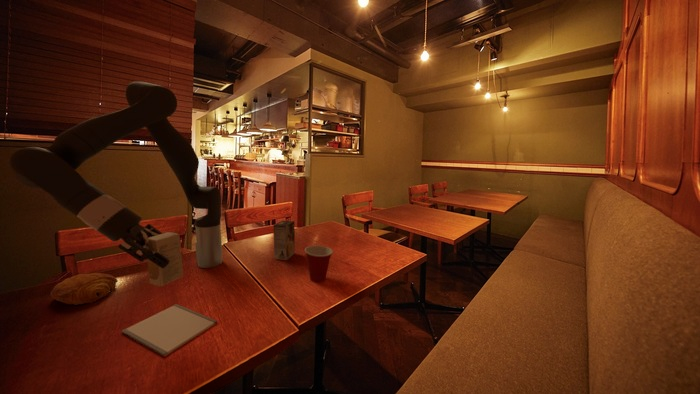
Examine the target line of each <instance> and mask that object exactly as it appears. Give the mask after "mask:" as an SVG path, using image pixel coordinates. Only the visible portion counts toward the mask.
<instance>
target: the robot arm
mask: <svg viewBox="0 0 700 394" xmlns="http://www.w3.org/2000/svg"><path fill="white" fill-rule="evenodd" d="M125 99H126V102H127V103H128V107H126V108H123V109H120V110H117V111H113V112H109V113H106V114H103V115H99V116H95V117H91V118H90V119H87V120H84V121H82V122H80V123H77V124H76V125H74V126H72V127H71V128H69V129H66V130H65V131H62V132H61V133H60V134H58V135H57V136H56V137H55V138H54V140H53V143H52V144H50V146H49V147H46V148H42V147H37V146H29V147H28V146H27V147H26V146H25V147H22V148H19V149H17V150H15V151H14V152H13V153H12V154H11V155H10V157H9V166H10V169H11V171H12V173H13V175H14V177H15V179H16V180H17V181H18V182H19V183H20V184H21V185H24V186H26V187H29V188H31V189H32V188H34V189H41V190H42V191H44V192H45V193H47V194H49V195H50V196H51V197H52V199H54V201H55V202H56V203H57V204H59V206H61V207H62V208H64V209H65V210H67V211H68V212H69V213H71V214H73V215H75V216H76V217H77V218H79V219H80V220H81V221H82V222H83V223H84V224H86V225H87V226H88V227H90V228H92V229H93V230H95V231H96V232H98V233H99V234H101V235H103V236H104V237H106V238H107V239H109V240H110V241H112V242H114V243H116V242H119V240H122V242H121V243H120V244H118V245H117V247H118V248H119V249H120V250H121V251H123V252H125V253H127V254H128V255H129V256H131V257H133V258H134V259H136V260H137V261H139V262H141V263H142V262H144V261H147V260H150V261H152V262H153V263H155V264H156V265H158V266H159V267H161V268H164V267H166V266H167V265H168V264H169V262H170V260H168V259H167V258H165V257H164V256H162V255H161V254H159V253H158V252H157V253H156V251H155V249H154V248H153V247H152V243H151V242H150V241H149V239H148V238H149V237H152V236H156V235H159V234H163V233H164V232H162V231H160V230H159V229H157V228H156V227H154V226H153V225H152V224H150V223H148V224H146V225H144V226H142V225H141V224H140V223H141V222H142V221H143V219H142V217H141V216H140V215H138V214H137V213H135V212H134V211H133V210H131V209H130V208H128V207H127V206H126V205H124V204H123V203H121V202H120V201H119V200H117V199H115V198H113V197H112V196H110V195H108V194H107V193H106V192H104V191H103V190H101V189H100V188H98V187H97V186H95V185H94V184H92V183H91V182H89V181H87V179H85V178H84V177H83V176H82V175H81V174H80V173H79V172H78V171H77V169H78V168H79V167H80V166H81V165H83V163H85V162H86V161H87V160H90V159H91V158H92V157H94V156H96V155H97V154H99V153H100V152H102V151H103V150H106V148H108V147H109V146H111V145H113V144H115V143H116V142H118V141H120V140H121V139H123V138H126V137H127V136H129V135H131V134H133V133H135V132H137V131H139V130H142V129H144V128H146V130H147V131H148V132H149V134H150V136H151V137H152V139H153V140H154V142H155V143H156V145H157V148H159V150H160V152H161V153H162V155H163V158H165V161H166V163H167V164H168V165H169V167H170V168H171V170H172V172H173V173H174V175H175V177H176V178H177V180H178V182H179V183H180V186H181V189H182V190H183V192H184V194H185V197H186V200H187V201H188V203H189V205H190V206H191V207H192V208H194V209H198V210H199V209H200V210H207V212H206V214H205V215H203V216H202V215H201V216H199V217H197V218H196V219H195V221H194V225H195V239H196V242H195V254H196V255H195V257H196V259H195V260H196V264H197V267H199V268H201V269H210V268H215V267H218V266H219V265H222V264H223V247H222V246H223V245H222V229H221V217H222V193H221V191H220V189H219V188H218V187H216V186H200V185H199V184H198V183H197V181H196V175H197V172H198V170H199V165H200V163H199V162H200V160H199V158H198V155H197V154H196V151H195V150H194V148H193V146H192V144H191V143H190V141H188V139H187V138H185V136H184V135H182V134H181V132H180V131H178V130H177V129H176V127H174V126H173V124H172V123H171V122H170V120H169V119H168V118H169V117H171V116H172V115H173V114H174V113H175V112H176V110H177V108H178V99H177V97H176V95H175V93H174V92H173V91H172V90H171V89H170V88H168V87H166V86H163V85H159V84H154V83H150V82H145V81H131V82H130V83H128V84H127V86H126V89H125Z"/></svg>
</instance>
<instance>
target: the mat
mask: <svg viewBox="0 0 700 394" xmlns="http://www.w3.org/2000/svg"><path fill="white" fill-rule="evenodd" d="M217 323H218V321H217V320H216V319H214V318H211V317H209V316H207V315H204V314H201V313H199V312H196V311H194V310H192V309H190V308H188V307H185V306H182V305H181V304H178V303H176V304H173V305H172V306H170V307H168V308H166V309H164V310H162V311H160V312H157V313H155V314H154V315H152V316H150V317H147V318H146V319H144V320H141V321H139V322H137V323H135V324H133V325H131V326H128V327H127V328H124V329H122V330H121V334H123V333H124V334H126V335H128V336H129V337H128V336H127V337H128V338H130V337H131V338H130V339H132V338H133V339H134V340H133V339H132V340H133V341H135V340H136V342H137V343H139V344H140V343H141V345H142V344H143V345H142V346H144V345H145V347H146V346H147V347H146V348H148V347H149V348H151V349H153V350H154V351H153V350H152V351H153V352H155V353H156V352H157V354H158V353H159V354H158V355H160V356H162V357H163V356H164V357H166V356H168V355H169V354H171V353H172V352H174V351H175V350H177V349H178V348H180V347H182V346H184V345H185V344H186V343H188V342H190V341H191V340H193V339H195V338H197V336H199V335H200V334H202V333H204V332H205V331H207V330H209V328H212V327H213V326H214V325H216V324H217ZM124 334H123V335H124ZM126 335H125V336H126ZM149 348H148V349H149ZM151 349H150V350H151Z"/></svg>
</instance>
